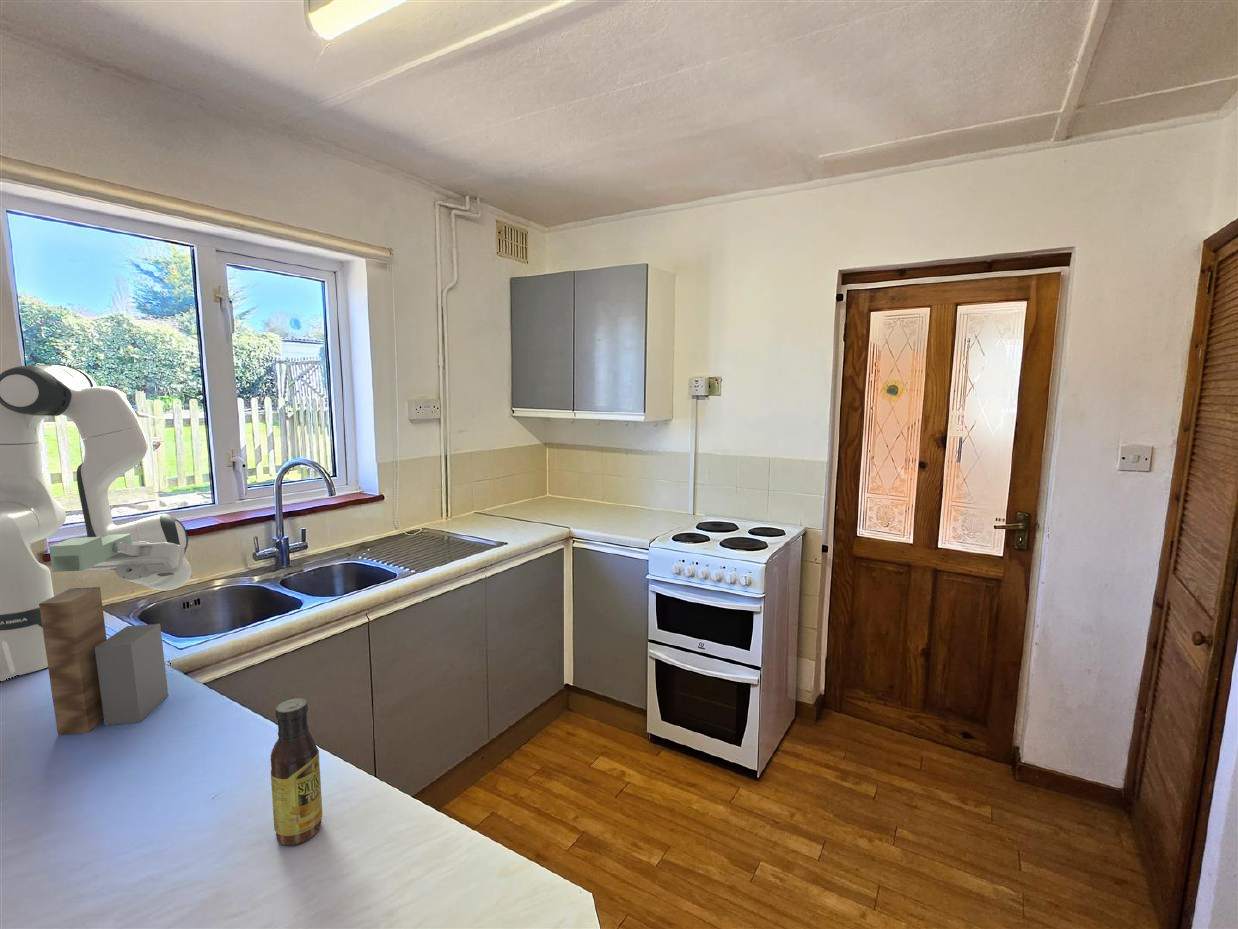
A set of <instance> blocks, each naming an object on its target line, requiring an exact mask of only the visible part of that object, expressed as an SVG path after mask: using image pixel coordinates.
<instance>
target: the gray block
mask: <svg viewBox="0 0 1238 929" xmlns="http://www.w3.org/2000/svg"><path fill="white" fill-rule="evenodd" d="M161 628H162V627H161V623H154V624H153V623H152V624H138V625H127V626H125V627H124V628H122V629H121V630H119V631H118V632H116V633H114V634H113V635H112V636H110V637H109V638H108V637H107V640H105V641H104V642H102V643H101V644H99V645H98V646H96V647H95V654H96V662H97V669H98V677H99V685H100V692H101V700H102V707H103V715H104V720H103V721H104V726H113V725H120V724H121V725H122V724H131V723H141V722H142V721H143V720H144V719H145V718H146V717H147V716H148V715H149V714H150V713H151V712H152V711H154V710H155V708H157V707H158V705H160V704H161V703H162V702H163V701H164V700H165V699H166V698H167V697H168V696H169V690H168V681H167V673H166V665H165V654H164V647H163V636H162V629H161ZM163 699H164V700H163ZM162 700H163V701H162Z"/></svg>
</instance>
